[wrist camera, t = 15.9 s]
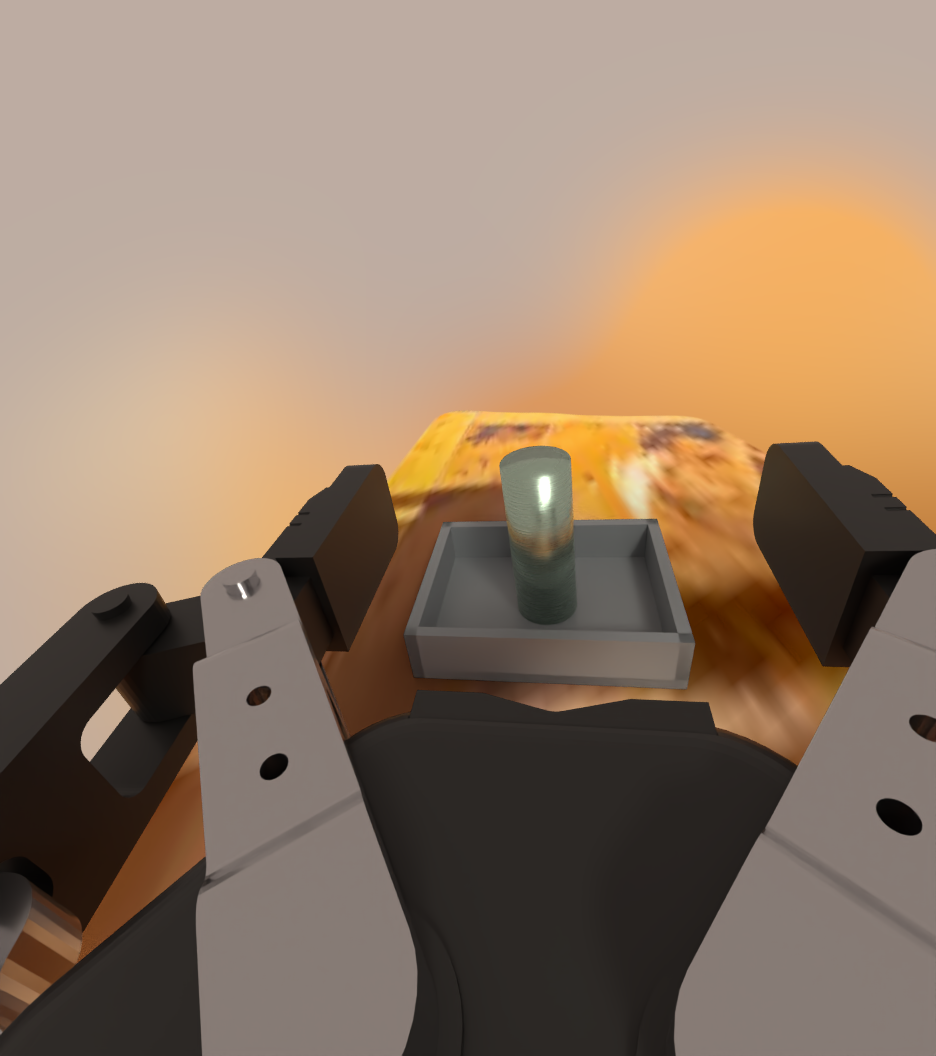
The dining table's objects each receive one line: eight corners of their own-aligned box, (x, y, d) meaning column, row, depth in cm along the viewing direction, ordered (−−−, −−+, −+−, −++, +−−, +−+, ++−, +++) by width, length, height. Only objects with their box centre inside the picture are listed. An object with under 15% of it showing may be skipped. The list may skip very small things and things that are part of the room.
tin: (574, 582, 39) (568, 442, 33) (579, 623, 36) (573, 475, 29) (518, 586, 40) (500, 449, 33) (517, 626, 36) (498, 482, 30)
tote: (652, 559, 42) (657, 518, 40) (686, 689, 31) (695, 643, 29) (449, 559, 46) (443, 522, 44) (414, 677, 34) (403, 635, 32)
